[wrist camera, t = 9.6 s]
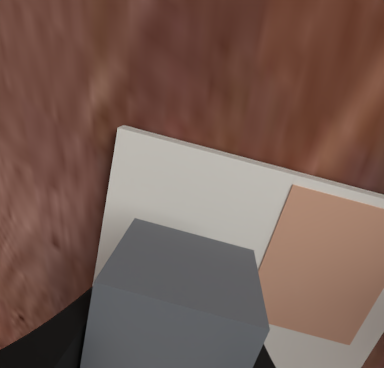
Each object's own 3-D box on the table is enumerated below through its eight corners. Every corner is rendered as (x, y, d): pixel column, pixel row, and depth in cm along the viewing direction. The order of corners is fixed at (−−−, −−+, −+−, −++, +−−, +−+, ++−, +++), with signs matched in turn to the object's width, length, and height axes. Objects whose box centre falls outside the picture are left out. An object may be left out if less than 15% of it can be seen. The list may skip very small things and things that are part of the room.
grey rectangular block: (253, 250, 12) (269, 329, 8) (208, 369, 14) (204, 474, 10) (134, 218, 12) (93, 282, 8) (109, 342, 14) (69, 437, 10)
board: (441, 210, 16) (457, 219, 15) (330, 392, 21) (336, 408, 20) (123, 125, 16) (117, 127, 15) (90, 327, 21) (83, 340, 20)
